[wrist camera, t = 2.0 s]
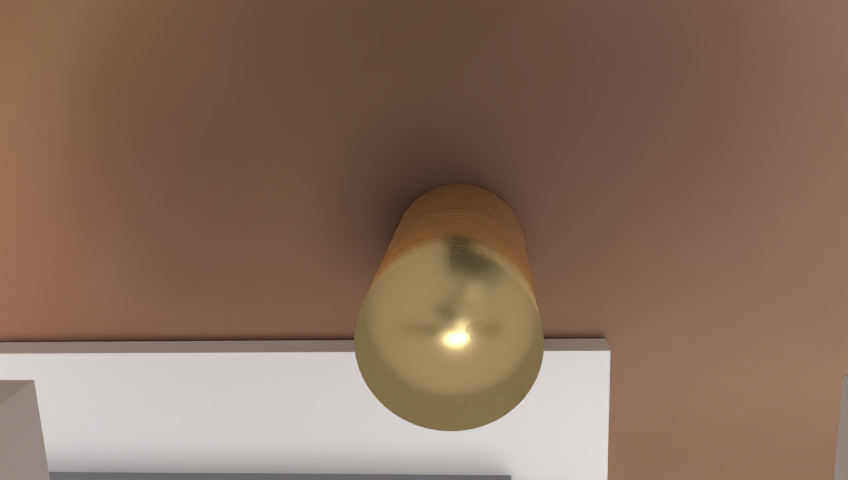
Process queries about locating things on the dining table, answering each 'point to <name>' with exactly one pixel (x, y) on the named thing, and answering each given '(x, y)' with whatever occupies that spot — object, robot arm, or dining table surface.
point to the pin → (452, 314)
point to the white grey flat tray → (293, 415)
